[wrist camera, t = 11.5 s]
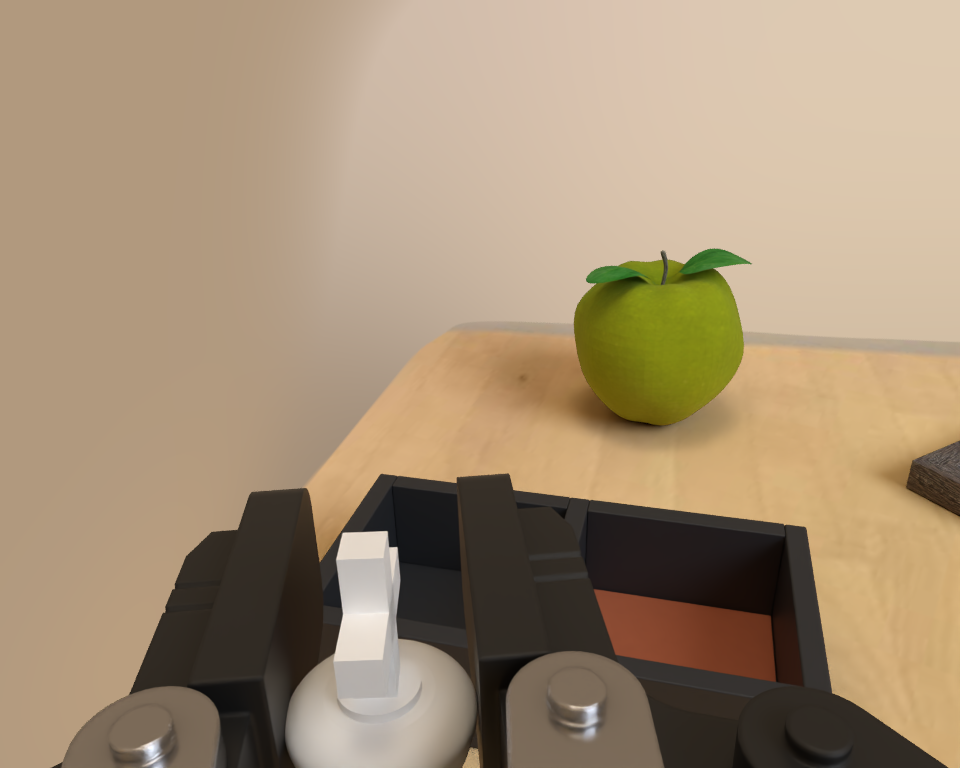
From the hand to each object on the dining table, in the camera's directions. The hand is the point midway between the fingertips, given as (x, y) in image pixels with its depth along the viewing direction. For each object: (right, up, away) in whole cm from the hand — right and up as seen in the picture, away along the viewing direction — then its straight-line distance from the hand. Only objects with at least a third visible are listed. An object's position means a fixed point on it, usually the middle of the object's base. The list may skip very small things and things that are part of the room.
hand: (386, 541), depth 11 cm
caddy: (+4, -8, +20) cm, 22 cm away
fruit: (+12, 0, +37) cm, 39 cm away
